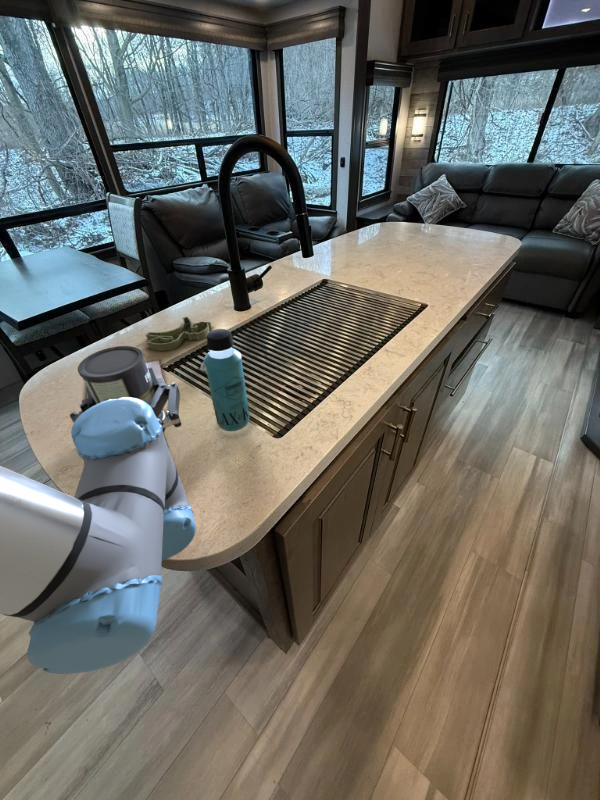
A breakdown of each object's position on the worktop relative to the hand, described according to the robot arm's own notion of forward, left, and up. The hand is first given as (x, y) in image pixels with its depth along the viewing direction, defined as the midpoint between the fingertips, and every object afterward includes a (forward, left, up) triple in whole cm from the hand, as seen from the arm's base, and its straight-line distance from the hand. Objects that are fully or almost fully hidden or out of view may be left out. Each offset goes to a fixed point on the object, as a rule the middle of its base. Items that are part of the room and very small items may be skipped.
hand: (122, 381), depth 63 cm
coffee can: (0, -4, -7) cm, 8 cm away
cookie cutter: (+14, +30, -8) cm, 34 cm away
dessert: (+20, +10, -8) cm, 23 cm away
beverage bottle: (+18, -13, -8) cm, 23 cm away
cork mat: (-1, +11, -8) cm, 14 cm away
